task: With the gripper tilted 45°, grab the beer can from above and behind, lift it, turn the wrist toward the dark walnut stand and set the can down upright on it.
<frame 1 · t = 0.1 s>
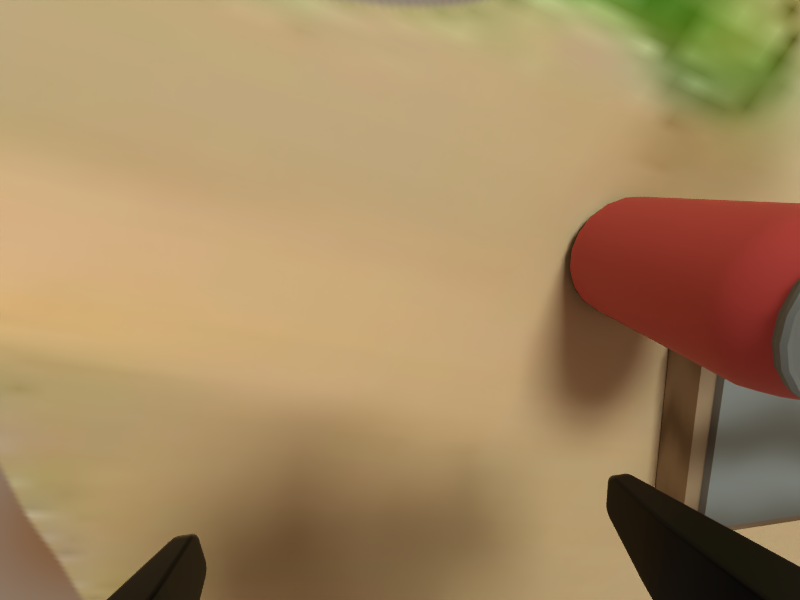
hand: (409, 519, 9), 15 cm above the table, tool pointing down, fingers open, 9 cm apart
walnut stand: (754, 416, 27), on the table
beer can: (618, 255, 23), on the table
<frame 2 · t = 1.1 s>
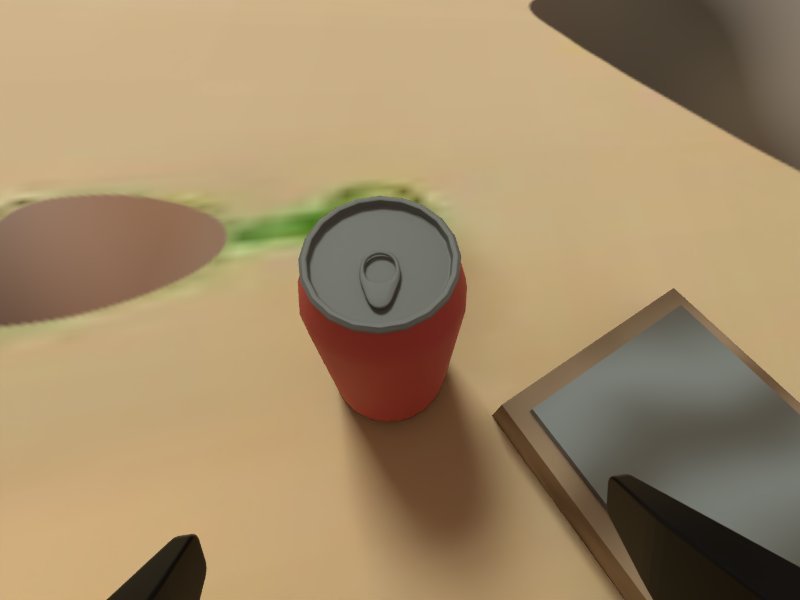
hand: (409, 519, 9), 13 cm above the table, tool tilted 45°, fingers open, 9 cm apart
walnut stand: (661, 453, 22), on the table
beer can: (390, 369, 24), on the table
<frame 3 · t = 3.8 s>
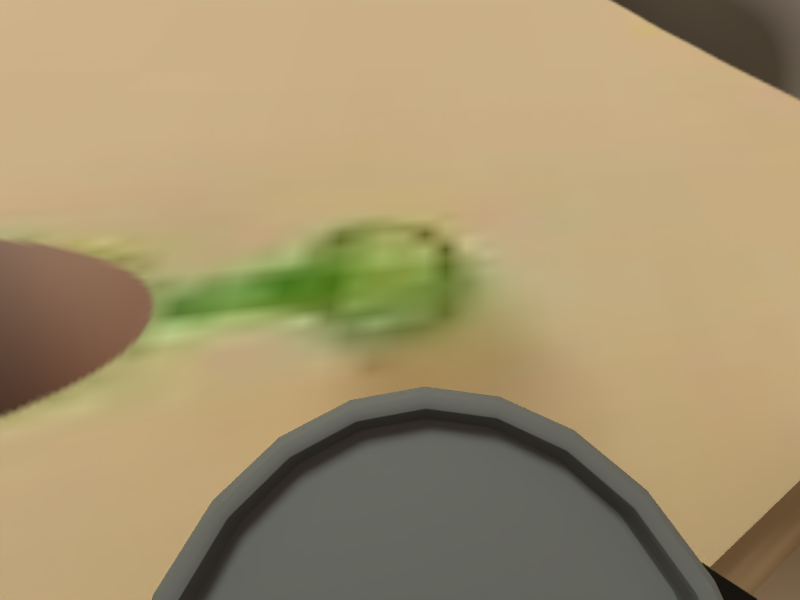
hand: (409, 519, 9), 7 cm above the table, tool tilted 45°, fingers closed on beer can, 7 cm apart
beer can: (412, 562, 14), on the table, touching gripper
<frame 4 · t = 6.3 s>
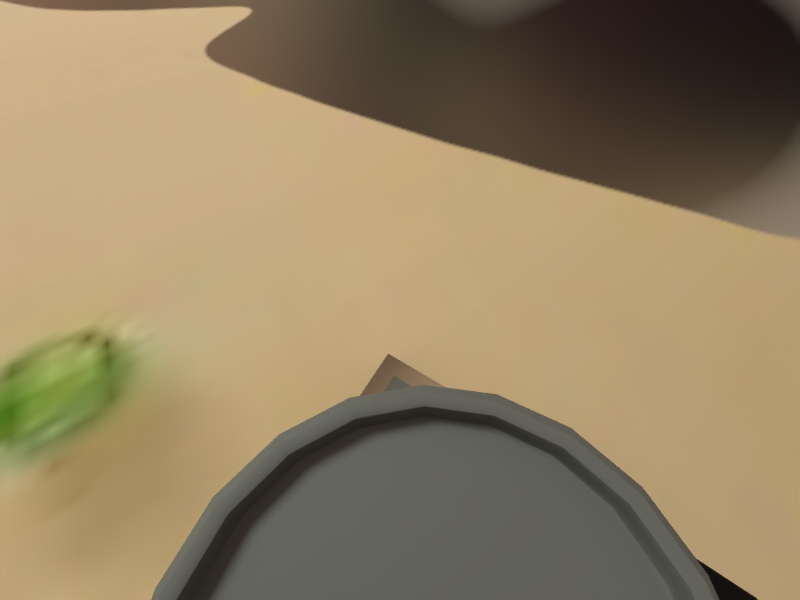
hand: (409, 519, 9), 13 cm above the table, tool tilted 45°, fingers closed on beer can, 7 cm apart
walnut stand: (429, 542, 20), on the table
beer can: (411, 560, 14), point 6 cm above the table, touching gripper
when the fingers open (11 cm above the table, at t = 7.5 s): beer can drops 1 cm, resting on walnut stand.
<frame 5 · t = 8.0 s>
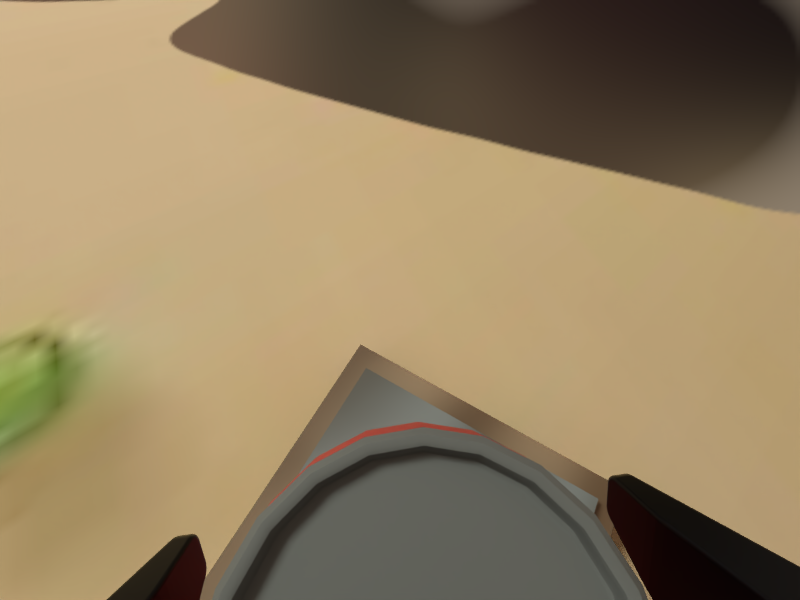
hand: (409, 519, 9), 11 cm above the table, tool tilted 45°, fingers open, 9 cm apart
walnut stand: (410, 552, 18), on the table
beer can: (412, 563, 15), point 3 cm above the table, touching walnut stand
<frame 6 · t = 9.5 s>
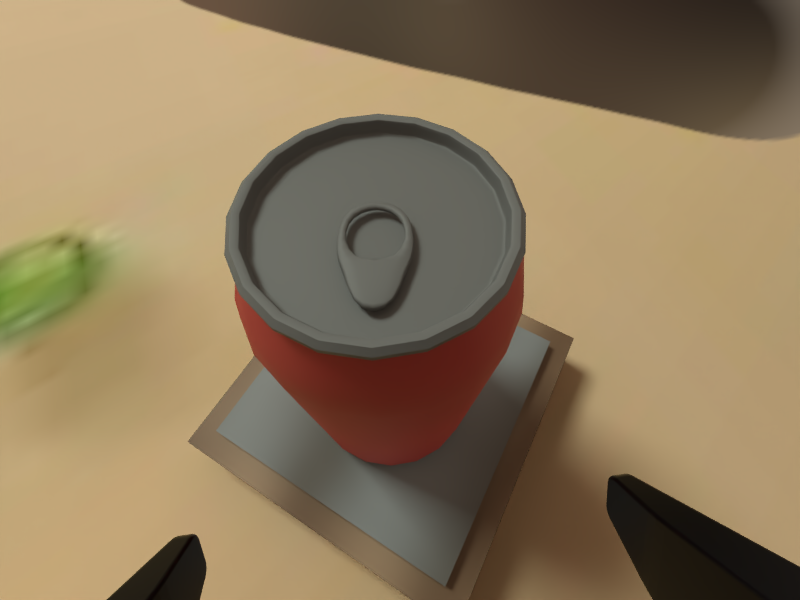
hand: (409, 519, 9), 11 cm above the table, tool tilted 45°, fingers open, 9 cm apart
walnut stand: (392, 400, 21), on the table
beer can: (391, 389, 18), point 3 cm above the table, touching walnut stand
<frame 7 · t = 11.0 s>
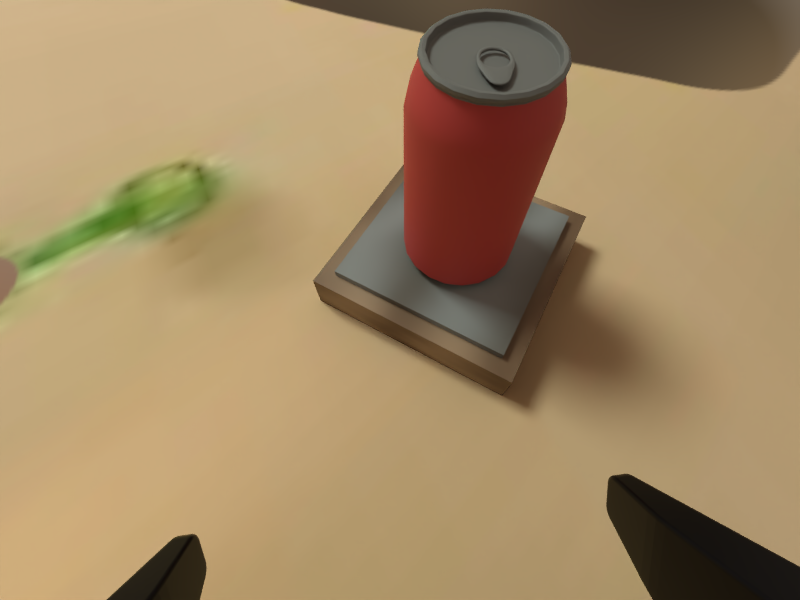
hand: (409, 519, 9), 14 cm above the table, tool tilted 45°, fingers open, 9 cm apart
walnut stand: (451, 268, 28), on the table
beer can: (456, 246, 25), point 3 cm above the table, touching walnut stand
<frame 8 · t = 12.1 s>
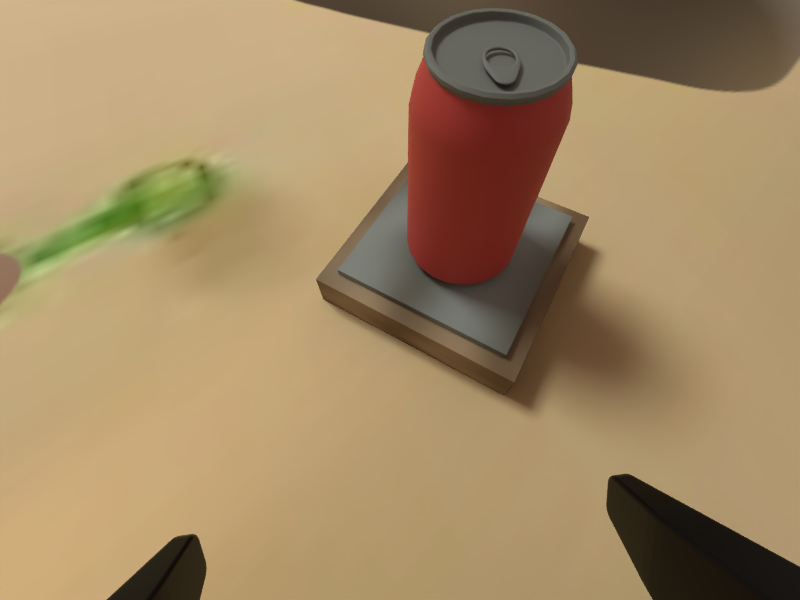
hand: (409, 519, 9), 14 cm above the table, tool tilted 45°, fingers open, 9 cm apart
walnut stand: (453, 268, 28), on the table
beer can: (459, 246, 25), point 3 cm above the table, touching walnut stand
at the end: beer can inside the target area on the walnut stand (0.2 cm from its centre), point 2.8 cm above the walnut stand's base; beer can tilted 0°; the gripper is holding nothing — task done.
